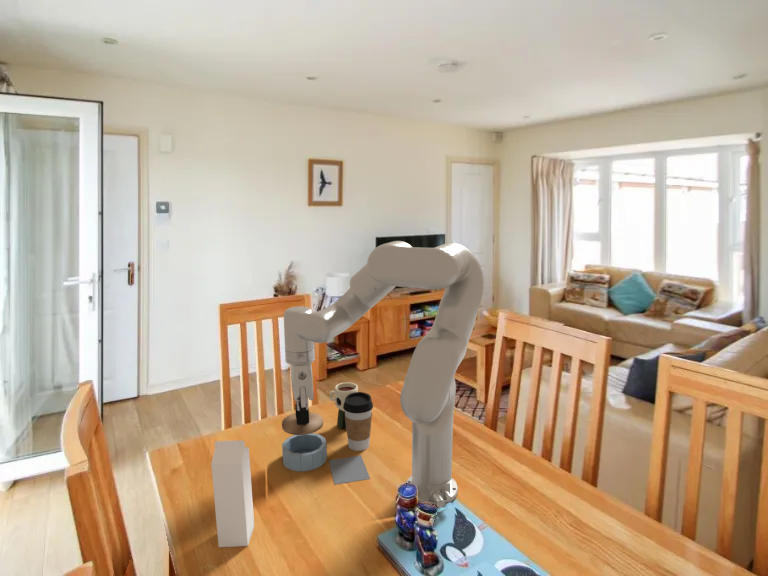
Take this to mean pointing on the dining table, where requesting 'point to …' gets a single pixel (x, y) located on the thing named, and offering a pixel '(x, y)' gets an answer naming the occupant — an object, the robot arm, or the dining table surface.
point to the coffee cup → (358, 420)
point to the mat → (348, 470)
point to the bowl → (304, 452)
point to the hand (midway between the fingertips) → (302, 419)
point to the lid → (292, 428)
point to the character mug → (342, 399)
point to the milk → (232, 493)
